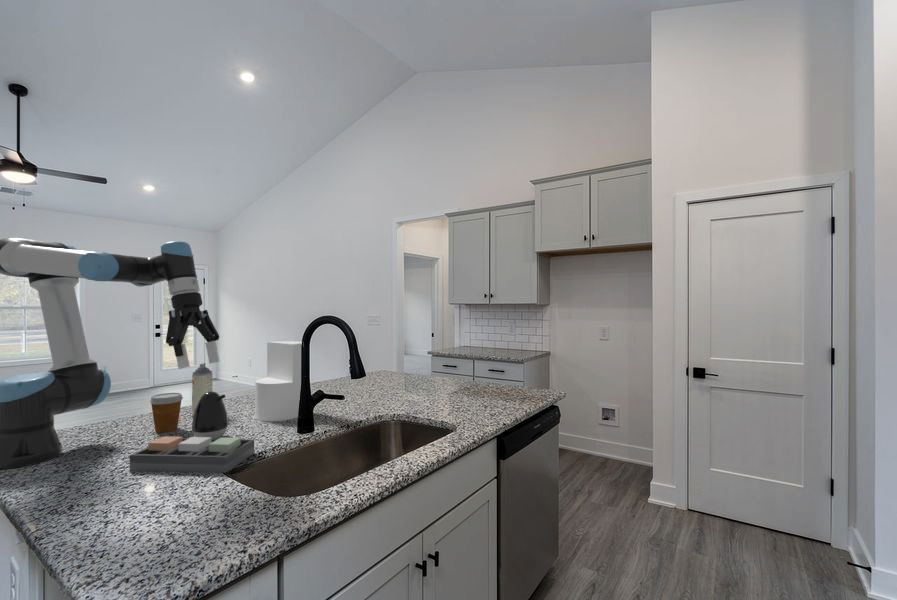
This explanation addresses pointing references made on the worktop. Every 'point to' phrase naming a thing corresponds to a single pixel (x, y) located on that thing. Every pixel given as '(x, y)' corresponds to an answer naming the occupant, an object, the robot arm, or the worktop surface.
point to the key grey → (194, 444)
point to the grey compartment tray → (191, 459)
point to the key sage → (224, 444)
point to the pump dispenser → (210, 416)
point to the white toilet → (279, 383)
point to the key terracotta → (164, 443)
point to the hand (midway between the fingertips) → (200, 365)
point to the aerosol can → (200, 384)
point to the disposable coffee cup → (166, 411)
